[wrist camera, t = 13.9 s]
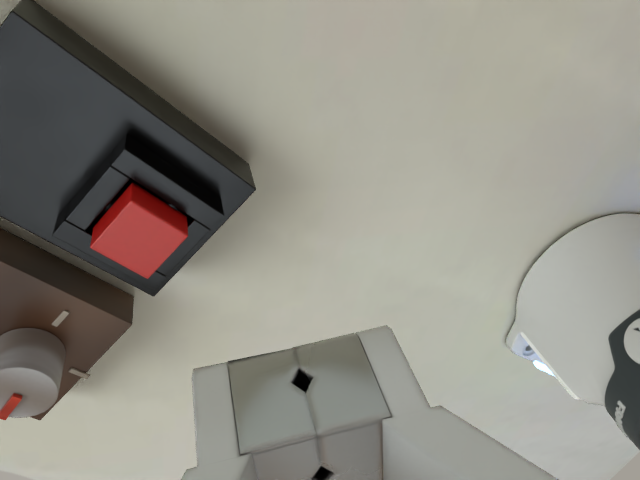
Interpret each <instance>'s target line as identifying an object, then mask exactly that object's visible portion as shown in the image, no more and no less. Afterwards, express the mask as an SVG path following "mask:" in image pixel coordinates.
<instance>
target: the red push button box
mask: <svg viewBox="0 0 640 480" xmlns="http://www.w3.org/2000/svg"><path fill="white" fill-rule="evenodd" d="M131 183H135V184H136V185H138V186H140V187H141V188H143V189H144V190H146V191H147V192H149V193H150V194H152V195H154V196H155V197H157V198H158V199H160V200H161V201H163V202H165V203H166V204H168V205H169V206H171V207H172V208H174V209H175V210H177V211H179V212H180V213H182V214H183V215H185V216H186V217H187V226H188V237H187V238H186V239H185V240H184V241H183V242H182V243H181V244H180V245H179V246H178V247H177V249H176V250H175V251H174V252H173V253H172V254H171V255H170V256H169V257H168V258H167V259H166V260H165V261H164V262H163V263H162V264H161V266H160V267H159V268H158V269H157V270H156V271H155V272H154V273H153V274H152V275H151V276H150V277H149V278H148V279H147V278H145V277H143V276H141V275H139V274H137V273H135V272H134V271H132V270H130V269H128V268H126V267H124V266H123V265H121V264H119V263H117V262H115V261H113V260H111V259H110V258H108V257H106V256H104V255H102V254H100V253H99V252H97V251H95V250H93V249H91V248H90V244H91V238H92V233H93V227H94V226H95V225H96V224H97V222H98V221H99V220H100V219H101V218H102V217H103V215H104V214H105V213H106V212H107V211H108V210H109V209H110V207H111V206H112V205H113V204H114V203H115V202H116V201H117V199H118V198H119V197H120V196H121V195H122V194H123V192H124V191H125V190H126V189H127V188H128V187H129V186H130V184H131ZM255 190H256V187H255V184H254V180H253V177H252V173H251V170H250V167H249V164H248V163H247V162H246V161H244V160H243V159H242V158H240V157H239V156H238V155H237V154H235V153H234V152H233V151H231V150H230V149H229V148H227V147H226V146H225V145H223V144H222V143H221V142H219V141H218V140H217V139H215V138H214V137H213V136H211V135H210V134H209V133H207V132H206V131H205V130H204V129H202V128H201V127H200V126H198V125H197V124H196V123H194V122H193V121H192V120H190V119H189V118H188V117H186V116H185V115H184V114H182V113H181V112H180V111H178V110H177V109H176V108H175V107H173V106H172V105H171V104H169V103H168V102H167V101H165V100H164V99H163V98H161V97H160V96H159V95H157V94H156V93H155V92H153V91H152V90H151V89H149V88H148V87H147V86H145V85H144V84H143V83H142V82H140V81H139V80H138V79H136V78H135V77H134V76H132V75H131V74H130V73H128V72H127V71H126V70H124V69H123V68H122V67H120V66H119V65H118V64H116V63H115V62H114V61H113V60H111V59H110V58H109V57H107V56H106V55H105V54H103V53H102V52H101V51H99V50H98V49H97V48H95V47H94V46H93V45H91V44H90V43H89V42H87V41H86V40H85V39H83V38H82V37H81V36H80V35H78V34H77V33H76V32H74V31H73V30H72V29H70V28H69V27H68V26H66V25H65V24H64V23H62V22H61V21H60V20H58V19H57V18H56V17H54V16H53V15H52V14H50V13H49V12H48V11H47V10H45V9H44V8H43V7H41V6H40V5H39V4H37V3H36V2H35V1H33V0H21V1H20V2H19V3H18V4H17V6H16V7H15V8H14V9H13V10H12V11H11V12H10V14H9V15H8V16H7V18H6V19H5V21H4V22H3V24H2V25H1V26H0V216H1V217H3V218H5V219H7V220H9V221H11V222H13V223H14V224H16V225H18V226H20V227H22V228H24V229H26V230H28V231H30V232H32V233H33V234H35V235H37V236H39V237H41V238H43V239H45V240H47V241H49V242H51V243H53V244H54V245H56V246H58V247H60V248H62V249H64V250H66V251H68V252H70V253H72V254H73V255H75V256H77V257H79V258H81V259H83V260H85V261H87V262H89V263H91V264H92V265H94V266H96V267H98V268H100V269H102V270H104V271H106V272H108V273H110V274H112V275H113V276H115V277H117V278H119V279H121V280H123V281H125V282H127V283H129V284H131V285H132V286H134V287H136V288H138V289H140V290H142V291H144V292H146V293H148V294H150V295H151V296H155V295H156V294H157V293H158V292H159V291H160V290H161V288H162V287H163V286H164V285H165V284H166V283H167V282H168V281H169V280H170V279H171V278H172V277H173V276H174V275H175V274H176V273H177V272H178V271H179V270H180V269H181V268H182V267H183V265H184V264H185V263H186V262H187V261H188V260H189V259H190V258H191V257H192V256H193V255H194V254H195V253H196V252H197V251H198V250H199V249H200V248H201V247H202V246H203V245H204V243H205V242H206V241H207V240H208V239H209V238H210V237H211V236H212V235H213V234H214V233H215V232H216V231H217V230H218V229H219V228H220V227H221V226H222V225H223V224H224V223H225V221H226V220H227V219H228V218H229V217H230V216H231V215H232V214H233V213H234V212H235V211H236V210H237V209H238V208H239V207H240V206H241V205H242V204H243V203H244V202H245V201H246V200H247V198H248V197H249V196H250V195H251V194H252V193H253V192H254V191H255Z"/></svg>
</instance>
